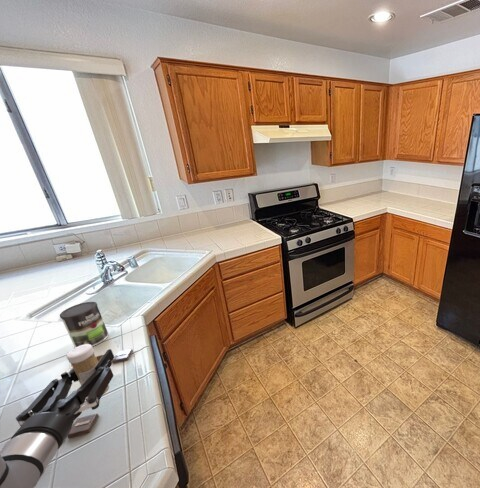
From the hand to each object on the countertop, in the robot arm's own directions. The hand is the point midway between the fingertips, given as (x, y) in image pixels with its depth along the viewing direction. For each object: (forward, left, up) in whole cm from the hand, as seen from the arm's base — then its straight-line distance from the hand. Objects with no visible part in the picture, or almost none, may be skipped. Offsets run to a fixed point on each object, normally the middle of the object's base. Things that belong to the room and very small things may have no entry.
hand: (99, 355), depth 69 cm
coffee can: (-23, +35, -16) cm, 45 cm away
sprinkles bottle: (0, -5, -7) cm, 9 cm away
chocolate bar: (-13, +20, -16) cm, 29 cm away
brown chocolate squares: (-9, -6, -16) cm, 19 cm away
